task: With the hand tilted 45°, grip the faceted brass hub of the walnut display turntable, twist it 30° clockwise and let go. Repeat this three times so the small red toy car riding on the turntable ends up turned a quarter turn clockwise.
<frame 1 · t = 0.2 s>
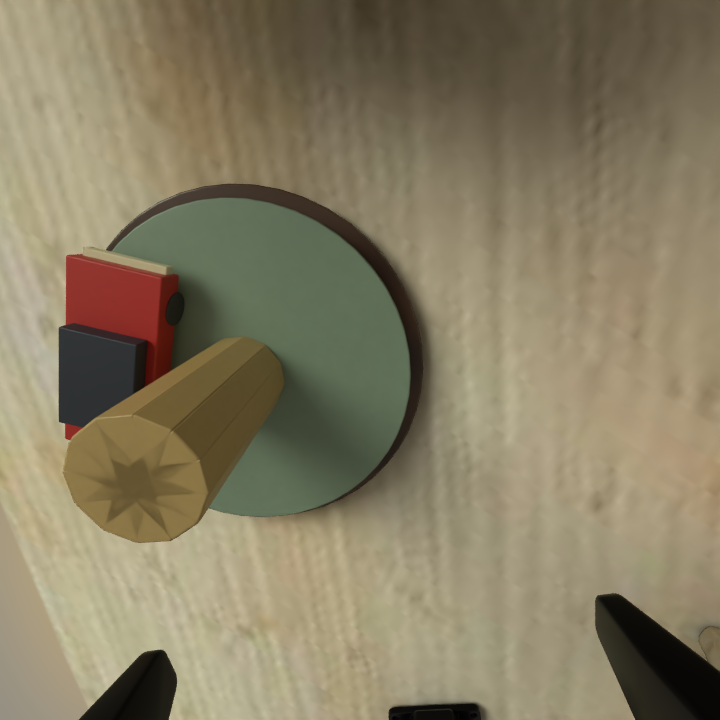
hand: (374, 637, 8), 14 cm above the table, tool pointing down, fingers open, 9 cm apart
display stand: (253, 366, 22), on the table
turntable: (207, 411, 16), point 6 cm above the table, hinge at 0.0°
rattle: (700, 656, 26), on the table
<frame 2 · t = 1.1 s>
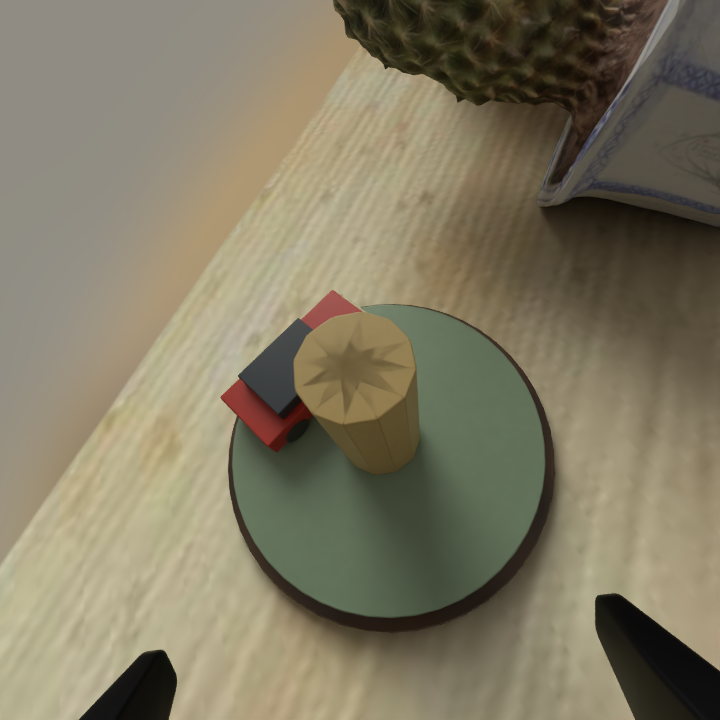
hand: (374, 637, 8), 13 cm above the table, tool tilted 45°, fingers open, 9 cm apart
display stand: (383, 442, 23), on the table
turntable: (370, 410, 18), point 6 cm above the table, hinge at 0.0°
potted plant: (547, 173, 31), on the table
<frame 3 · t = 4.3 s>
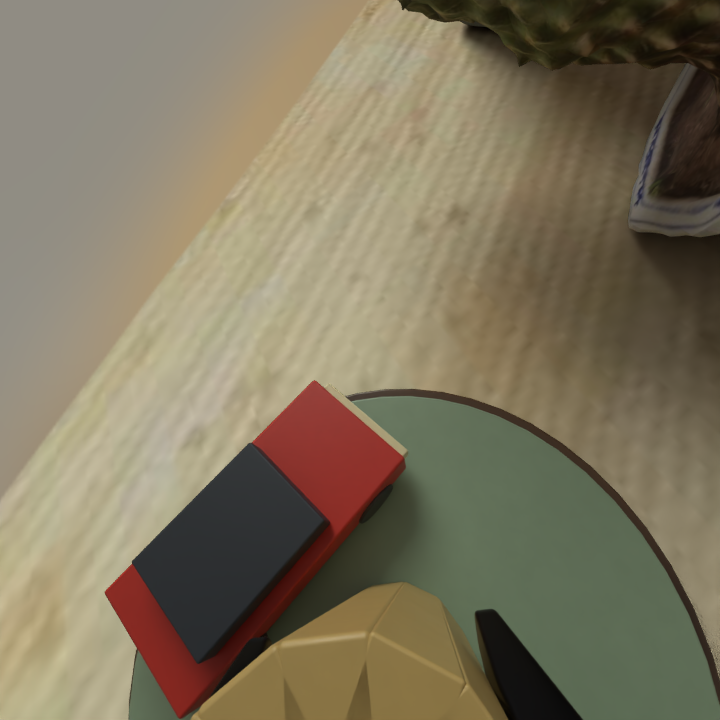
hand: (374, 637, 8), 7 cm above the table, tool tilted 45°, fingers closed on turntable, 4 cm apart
display stand: (400, 650, 13), on the table
turntable: (385, 715, 8), point 6 cm above the table, hinge at -0.1°, touching gripper
potted plant: (636, 180, 21), on the table
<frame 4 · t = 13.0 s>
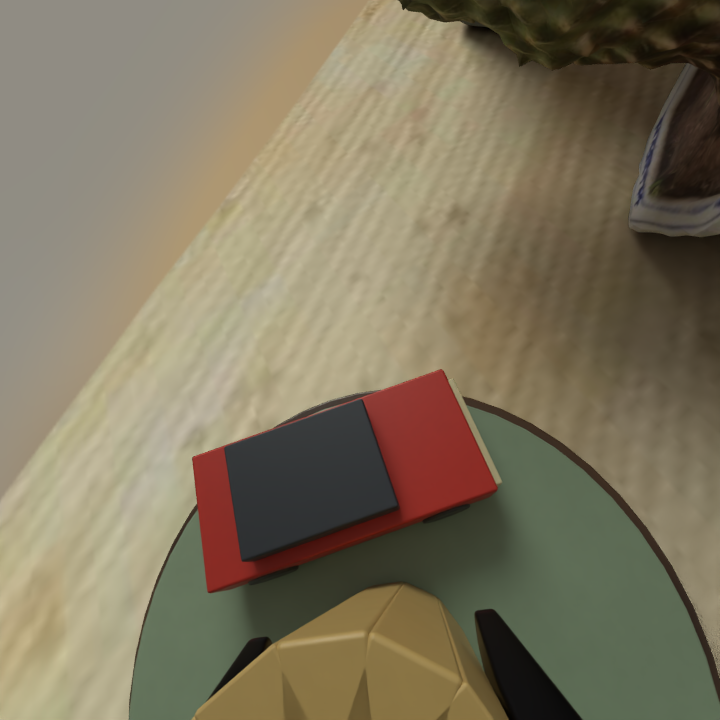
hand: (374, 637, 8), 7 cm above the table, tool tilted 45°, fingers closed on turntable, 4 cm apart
display stand: (401, 650, 13), on the table
turntable: (386, 715, 8), point 6 cm above the table, hinge at -29.4°, touching gripper
potted plant: (636, 180, 21), on the table
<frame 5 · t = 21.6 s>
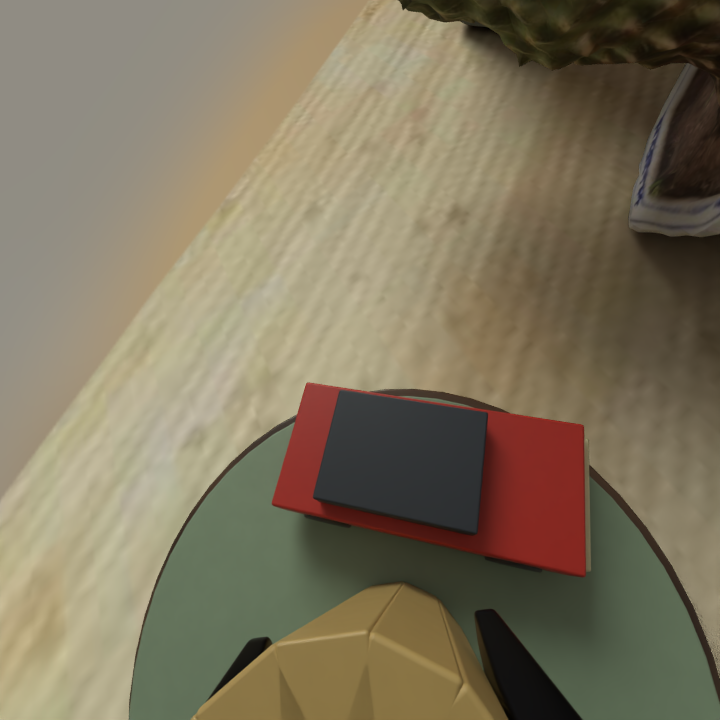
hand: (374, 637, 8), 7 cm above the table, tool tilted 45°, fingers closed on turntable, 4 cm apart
display stand: (401, 650, 13), on the table
turntable: (386, 715, 8), point 6 cm above the table, hinge at -59.4°, touching gripper
potted plant: (636, 180, 21), on the table
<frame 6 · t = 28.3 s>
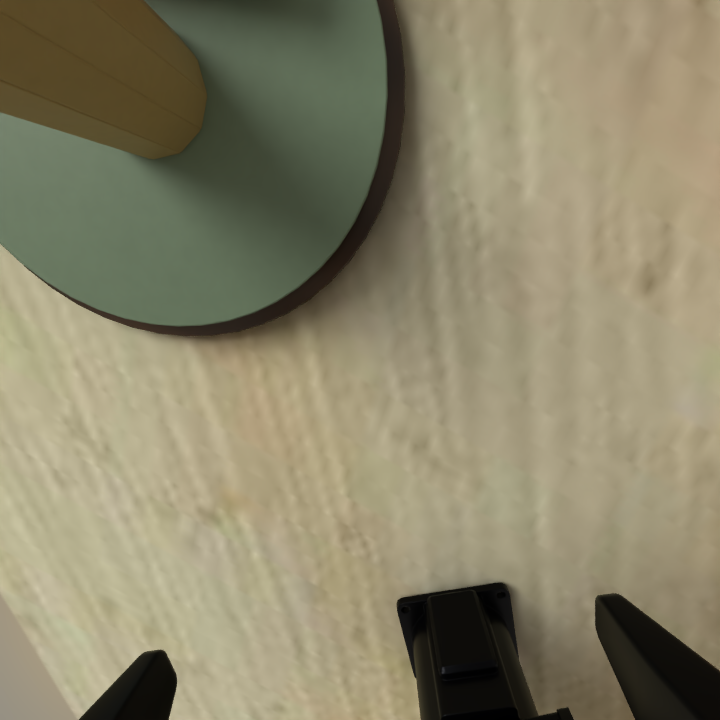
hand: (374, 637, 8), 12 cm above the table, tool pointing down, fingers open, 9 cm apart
display stand: (170, 106, 16), on the table
turntable: (57, 37, 10), point 6 cm above the table, hinge at -89.3°
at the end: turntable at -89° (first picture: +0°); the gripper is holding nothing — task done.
